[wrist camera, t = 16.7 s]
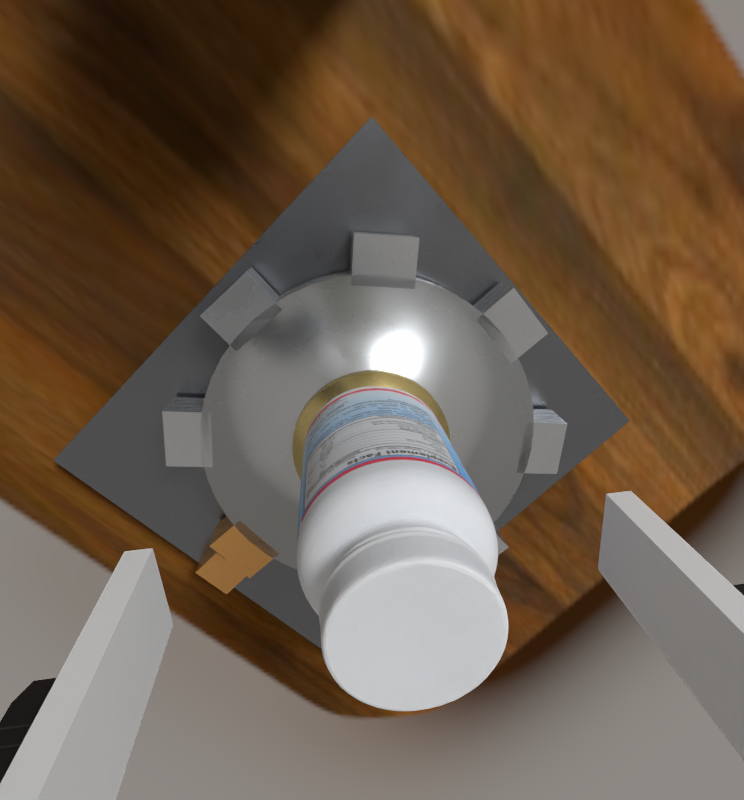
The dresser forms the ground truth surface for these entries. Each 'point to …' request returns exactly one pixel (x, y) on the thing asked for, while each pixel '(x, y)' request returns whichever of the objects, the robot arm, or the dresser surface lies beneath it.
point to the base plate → (282, 270)
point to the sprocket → (353, 368)
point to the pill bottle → (397, 554)
